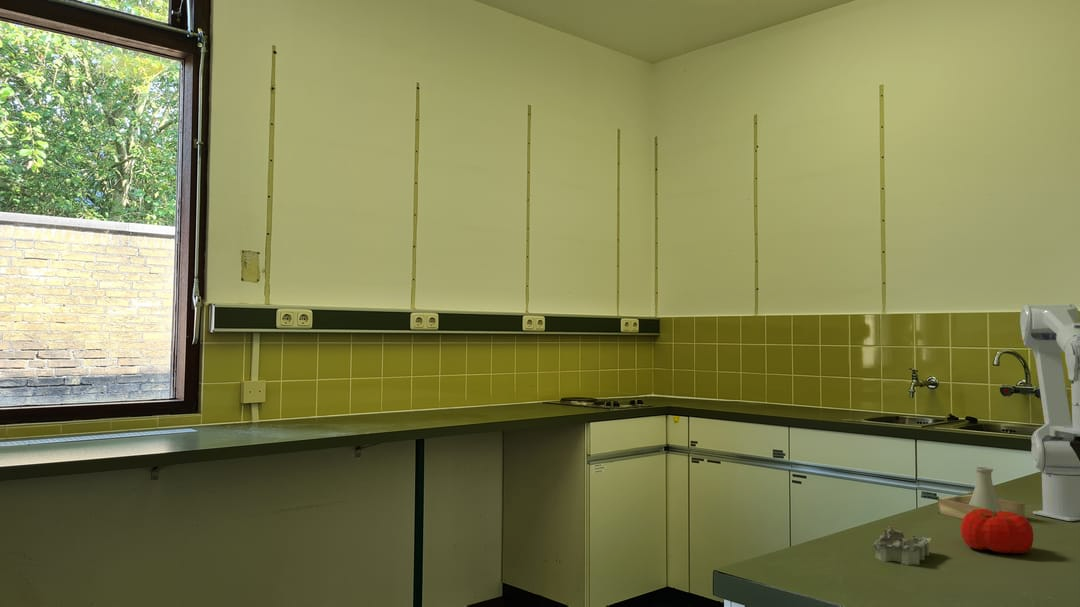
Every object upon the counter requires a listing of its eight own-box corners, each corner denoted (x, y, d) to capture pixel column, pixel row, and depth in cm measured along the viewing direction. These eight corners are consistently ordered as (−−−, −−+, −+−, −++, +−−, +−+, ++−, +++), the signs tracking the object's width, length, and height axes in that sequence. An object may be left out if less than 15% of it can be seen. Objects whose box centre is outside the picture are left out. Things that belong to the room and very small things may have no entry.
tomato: (960, 540, 145) (959, 504, 145) (1031, 547, 140) (1029, 509, 140) (962, 553, 136) (960, 514, 136) (1037, 561, 131) (1036, 520, 131)
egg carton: (889, 548, 141) (889, 524, 141) (935, 555, 136) (935, 531, 136) (868, 560, 133) (867, 535, 133) (916, 568, 128) (915, 542, 128)
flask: (995, 514, 167) (993, 465, 167) (1012, 521, 160) (1011, 471, 160) (958, 513, 167) (957, 465, 168) (975, 521, 160) (973, 470, 161)
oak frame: (976, 508, 172) (975, 494, 172) (1025, 519, 161) (1024, 504, 162) (937, 513, 167) (937, 498, 168) (985, 524, 157) (985, 508, 157)
